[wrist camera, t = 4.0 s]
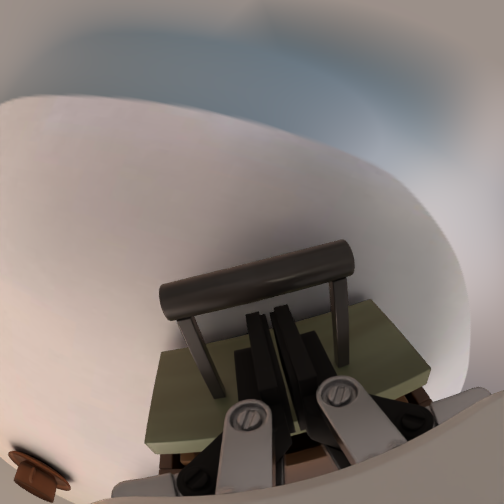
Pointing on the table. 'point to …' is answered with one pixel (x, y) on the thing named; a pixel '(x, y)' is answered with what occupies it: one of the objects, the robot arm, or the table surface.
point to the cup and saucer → (37, 476)
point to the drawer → (222, 352)
